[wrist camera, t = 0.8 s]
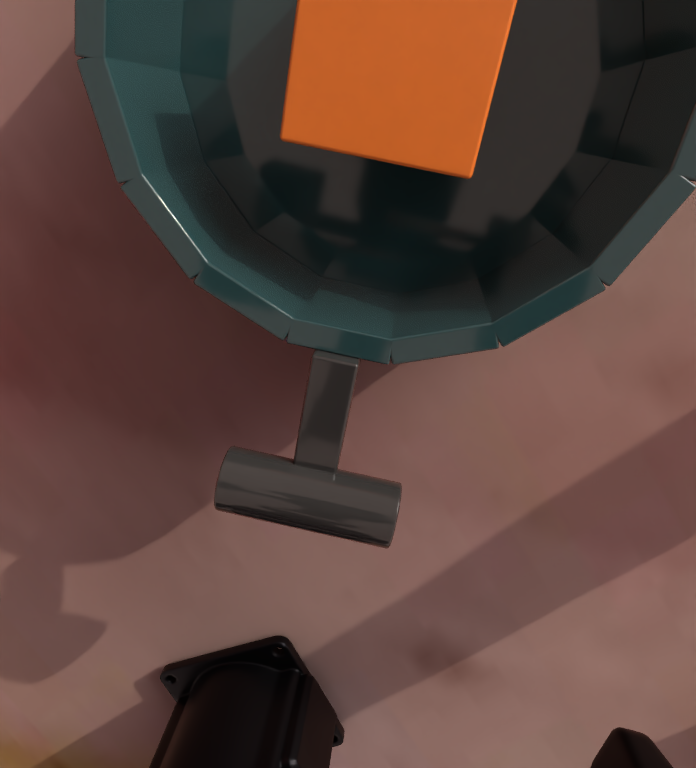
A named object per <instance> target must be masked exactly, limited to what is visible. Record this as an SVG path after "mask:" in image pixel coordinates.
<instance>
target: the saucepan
mask: <svg viewBox="0 0 696 768" xmlns="http://www.w3.org/2000/svg"><path fill="white" fill-rule="evenodd" d="M296 6H297V0H75V55H76V56H79V57H84V58H82V59H79V60H77V65H78V68H79V71H80V74H81V77H82V80H83V83H84V86H85V89H86V92H87V95H88V98H89V101H90V104H91V107H92V110H93V113H94V116H95V119H96V121H97V124H98V127H99V130H100V133H101V136H102V139H103V142H104V145H105V148H106V151H107V154H108V157H109V160H110V163H111V166H112V169H113V172H114V175H115V178H116V181H117V183H124V184H123V185H122V186H121V190H122V191H123V193H124V194H125V195H126V197H127V198H128V199H129V201H130V202H131V203H132V205H133V206H134V207H135V208H136V210H137V211H138V212H139V214H140V215H141V216H142V218H143V219H144V220H145V222H146V223H147V224H148V226H149V227H150V228H151V229H152V231H153V232H154V233H155V235H156V236H157V237H158V239H159V240H160V241H161V243H162V244H163V245H164V247H165V248H166V249H167V250H168V252H169V253H170V254H171V256H172V257H173V258H174V260H175V261H176V262H177V264H178V265H179V266H180V268H181V269H182V270H183V271H184V273H185V274H186V275H187V277H188V278H189V279H193V278H194V277H196V278H195V280H194V283H195V284H196V285H197V286H199V287H200V288H202V289H203V290H205V291H206V292H208V293H210V294H211V295H213V296H214V297H216V298H217V299H219V300H220V301H222V302H224V303H225V304H227V305H228V306H230V307H231V308H233V309H234V310H236V311H237V312H239V313H241V314H242V315H244V316H245V317H247V318H248V319H250V320H251V321H253V322H254V323H256V324H258V325H259V326H261V327H262V328H264V329H265V330H267V331H268V332H270V333H271V334H273V335H275V336H276V337H278V338H279V339H281V340H284V339H285V338H286V337H287V343H290V344H294V345H299V346H304V347H308V348H313V349H315V351H314V353H313V355H312V357H311V362H310V368H309V374H308V380H307V385H306V391H305V397H304V403H303V409H302V415H301V420H300V426H299V432H298V438H297V444H296V449H295V455H294V459H291V458H287V457H282V456H277V455H273V454H268V453H264V452H259V451H255V450H250V449H246V448H241V447H237V446H231V447H230V448H229V450H228V451H227V453H226V455H225V457H224V459H223V462H222V465H221V468H220V471H219V475H218V479H217V483H216V488H215V496H214V506H215V509H216V510H218V511H222V512H226V513H231V514H235V515H240V516H244V517H248V518H253V519H257V520H262V521H266V522H271V523H275V524H280V525H284V526H288V527H293V528H297V529H302V530H306V531H311V532H315V533H319V534H324V535H328V536H333V537H337V538H342V539H346V540H351V541H355V542H359V543H364V544H368V545H373V546H377V547H382V548H386V549H387V548H389V546H390V544H391V542H392V539H393V535H394V531H395V527H396V522H397V518H398V513H399V507H400V501H401V493H402V485H401V483H399V482H395V481H390V480H386V479H381V478H377V477H372V476H368V475H363V474H359V473H354V472H350V471H345V470H341V469H338V465H339V461H340V456H341V452H342V447H343V442H344V437H345V432H346V428H347V423H348V418H349V413H350V408H351V404H352V399H353V394H354V389H355V384H356V380H357V375H358V370H359V365H360V360H361V359H364V360H368V361H373V362H378V363H382V364H389V362H390V358H391V361H392V364H401V363H407V362H414V361H420V360H427V359H433V358H440V357H446V356H453V355H459V354H465V353H472V352H478V351H485V350H491V349H497V348H498V347H499V342H500V344H501V345H502V346H503V347H504V346H506V345H508V344H510V343H511V342H513V341H515V340H517V339H519V338H520V337H522V336H524V335H526V334H527V333H529V332H531V331H533V330H535V329H536V328H538V327H540V326H542V325H544V324H545V323H547V322H549V321H551V320H553V319H554V318H556V317H558V316H560V315H562V314H563V313H565V312H567V311H569V310H570V309H572V308H574V307H576V306H578V305H579V304H581V303H583V302H585V301H587V300H588V299H590V298H592V297H594V296H596V295H597V294H599V293H601V292H603V291H604V290H605V286H604V285H603V283H604V284H606V285H607V286H610V285H611V284H612V283H613V282H614V281H615V280H616V279H617V277H618V276H619V275H620V274H621V273H622V272H623V271H624V269H625V268H626V267H627V266H628V265H629V264H630V263H631V261H632V260H633V259H634V258H635V257H636V256H637V255H638V254H639V252H640V251H641V250H642V249H643V248H644V247H645V246H646V244H647V243H648V242H649V241H650V240H651V239H652V238H653V236H654V235H655V234H656V233H657V232H658V231H659V230H660V228H661V227H662V226H663V225H664V224H665V223H666V222H667V220H668V219H669V218H670V217H671V216H672V215H673V214H674V212H675V211H676V210H677V209H678V208H679V207H680V206H681V204H682V203H683V202H684V201H685V200H686V199H687V198H688V196H689V195H690V194H691V193H692V192H693V191H694V190H695V188H696V185H695V184H694V183H692V182H691V181H695V182H696V0H517V3H516V7H515V11H514V15H513V19H512V23H511V27H510V30H509V34H508V38H507V42H506V46H505V50H504V54H503V58H502V62H501V66H500V70H499V73H498V77H497V81H496V85H495V89H494V93H493V97H492V101H491V105H490V109H489V113H488V116H487V120H486V124H485V128H484V132H483V136H482V140H481V144H480V148H479V152H478V156H477V159H476V163H475V167H474V171H473V175H472V177H471V178H469V179H465V178H460V177H455V176H450V175H446V174H441V173H436V172H431V171H426V170H421V169H416V168H411V167H407V166H402V165H397V164H392V163H387V162H382V161H377V160H372V159H368V158H363V157H358V156H353V155H348V154H343V153H338V152H333V151H329V150H324V149H319V148H314V147H309V146H304V145H299V144H295V143H290V142H285V141H282V140H281V139H280V131H281V123H282V115H283V107H284V100H285V92H286V84H287V76H288V68H289V60H290V53H291V45H292V37H293V29H294V21H295V14H296ZM602 282H603V283H602ZM498 341H499V342H498Z"/></svg>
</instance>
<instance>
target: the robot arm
mask: <svg viewBox="0 0 696 768" xmlns="http://www.w3.org/2000/svg"><path fill="white" fill-rule="evenodd" d="M277 647H279V648H282V649H279V648H277ZM160 679H161V681H162V683H163V684H164V686H165V687H166V688H167V690H168V691H169V693H170V694H171V695H172V697H173V698H174V699H175V701H176V702H177V703H176V705H175V708H174V710H173V712H172V715H171V717H170V720H169V722H168V724H167V727H166V729H165V731H164V734H163V736H162V738H161V741H160V743H159V745H158V748H157V750H156V752H155V755H154V757H153V759H152V762H151V764H150V766H149V768H329V765H330V758H331V752H332V747H335V746H338V745H341V744H342V743H343V739H344V728H343V727H342V725H341V724H340V722H339V720H338V719H337V715H336V713H335V711H334V709H333V708H332V706H331V704H330V703H329V701H328V699H327V698H326V696H325V694H324V693H323V691H322V690H321V688H320V686H319V685H318V683H317V681H316V680H315V678H314V677H313V676H312V675H311V674H310V673H309V671H308V670H307V668H306V666H305V665H304V663H303V661H302V660H301V658H300V656H299V655H298V653H297V652H296V650H295V648H294V647H293V645H292V643H291V642H290V641H289V640H288V639H287V638H286V637H284V636H273V637H269V638H265V639H262V640H258V641H254V642H250V643H247V644H243V645H239V646H235V647H232V648H228V649H224V650H220V651H217V652H213V653H209V654H206V655H202V656H198V657H194V658H191V659H187V660H183V661H179V662H176V663H172V664H168V665H166V666H165V667H164V669H163V671H162V673H161V675H160ZM591 768H673V767H672V766H671V764H670V763H669V762H668V760H667V759H666V758H665V757H664V755H663V754H662V753H661V752H660V750H659V749H658V748H657V746H656V745H655V744H654V743H653V741H652V740H651V739H650V738H649V737H648V736H646V735H645V734H643V733H640V732H636V731H633V730H629V729H625V728H620V727H618V728H616V729H614V730H613V731H612V732H611V733H610V735H609V736H608V738H607V740H606V741H605V743H604V744H603V746H602V747H601V749H600V751H599V752H598V754H597V755H596V757H595V759H594V760H593V763H592V766H591Z"/></svg>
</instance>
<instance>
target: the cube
mask: <svg viewBox="0 0 696 768" xmlns="http://www.w3.org/2000/svg"><path fill="white" fill-rule="evenodd" d="M516 3H517V0H297V6H296V14H295V21H294V29H293V37H292V45H291V53H290V60H289V68H288V76H287V84H286V92H285V100H284V107H283V115H282V123H281V131H280V139H281V140H282V141H285V142H290V143H295V144H299V145H304V146H309V147H314V148H319V149H324V150H329V151H333V152H338V153H343V154H348V155H353V156H358V157H363V158H368V159H372V160H377V161H382V162H387V163H392V164H397V165H402V166H407V167H411V168H416V169H421V170H426V171H431V172H436V173H441V174H446V175H450V176H455V177H460V178H465V179H469V178H471V177H472V175H473V171H474V167H475V163H476V159H477V156H478V152H479V148H480V144H481V140H482V136H483V132H484V128H485V124H486V120H487V116H488V113H489V109H490V105H491V101H492V97H493V93H494V89H495V85H496V81H497V77H498V73H499V70H500V66H501V62H502V58H503V54H504V50H505V46H506V42H507V38H508V34H509V30H510V27H511V23H512V19H513V15H514V11H515V7H516Z"/></svg>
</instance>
